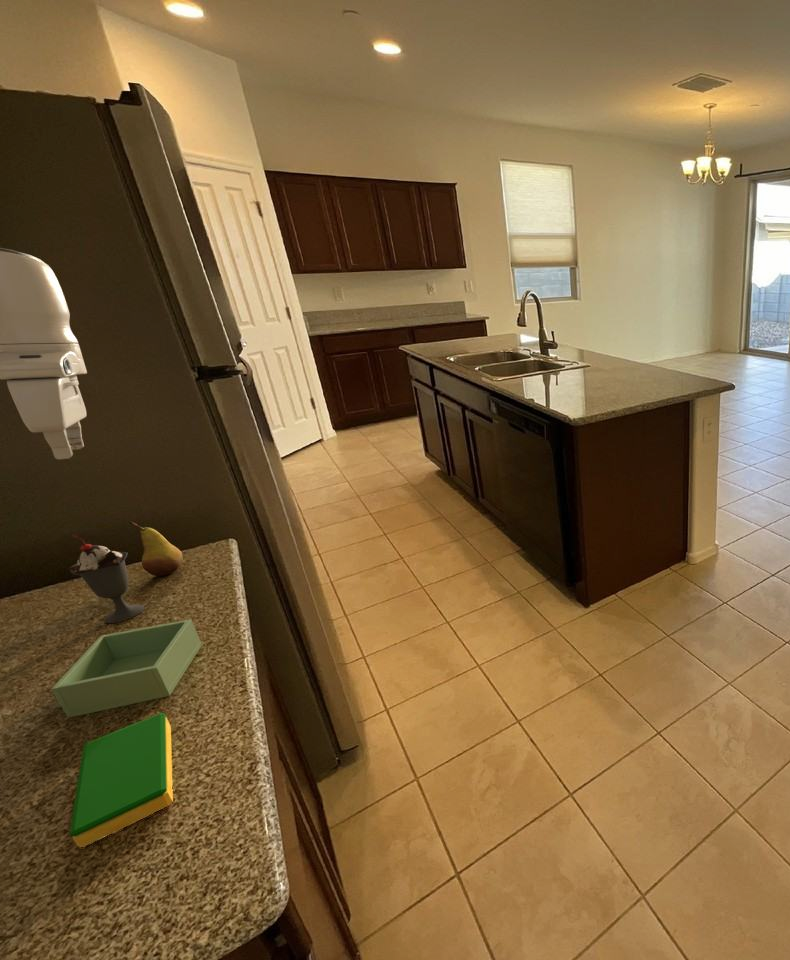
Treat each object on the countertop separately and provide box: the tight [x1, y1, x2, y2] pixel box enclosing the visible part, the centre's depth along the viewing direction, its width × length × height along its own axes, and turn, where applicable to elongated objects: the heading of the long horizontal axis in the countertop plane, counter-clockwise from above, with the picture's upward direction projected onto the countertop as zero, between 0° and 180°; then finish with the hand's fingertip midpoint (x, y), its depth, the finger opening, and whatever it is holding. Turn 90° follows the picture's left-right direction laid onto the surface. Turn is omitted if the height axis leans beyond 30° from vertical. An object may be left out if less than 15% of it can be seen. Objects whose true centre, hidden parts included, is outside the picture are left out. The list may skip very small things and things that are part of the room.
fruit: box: [129, 521, 184, 577], centre depth 95 cm, size 6×6×12 cm
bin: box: [51, 618, 203, 719], centre depth 71 cm, size 11×11×5 cm
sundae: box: [68, 534, 145, 624], centre depth 83 cm, size 7×7×15 cm
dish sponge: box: [69, 712, 174, 848], centre depth 57 cm, size 7×14×2 cm, turn 41°
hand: (70, 453), depth 82 cm, fingers open, 8 cm apart
